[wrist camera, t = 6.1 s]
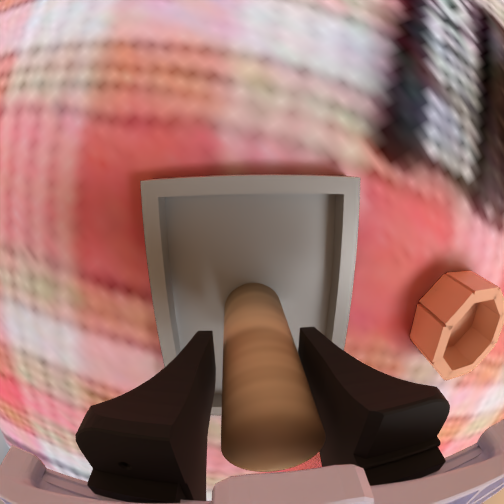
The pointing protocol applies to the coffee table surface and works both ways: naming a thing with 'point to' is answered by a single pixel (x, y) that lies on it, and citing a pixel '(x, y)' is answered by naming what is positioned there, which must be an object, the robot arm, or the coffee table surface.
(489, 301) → the cup
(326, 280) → the tray
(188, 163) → the coffee table surface
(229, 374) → the dowel
